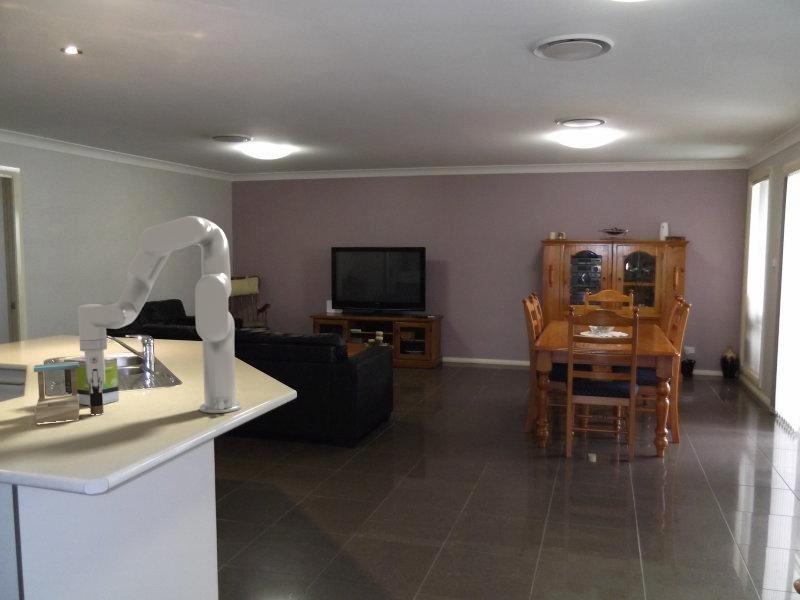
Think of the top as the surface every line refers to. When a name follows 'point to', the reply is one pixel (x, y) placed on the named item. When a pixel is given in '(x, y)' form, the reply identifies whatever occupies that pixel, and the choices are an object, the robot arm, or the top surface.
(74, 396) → the socket block
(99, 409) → the peg
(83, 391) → the tea box
